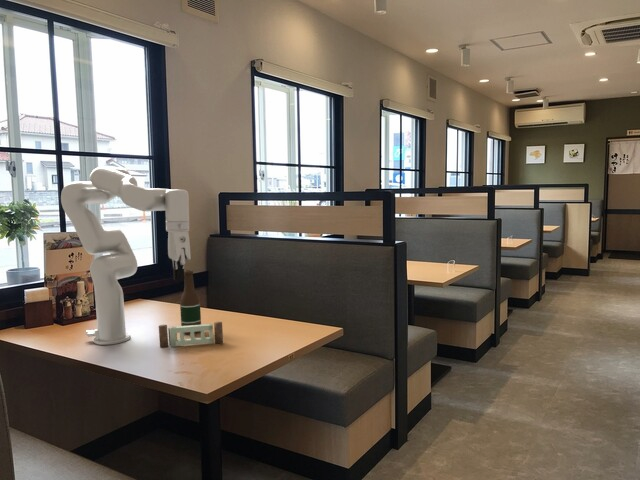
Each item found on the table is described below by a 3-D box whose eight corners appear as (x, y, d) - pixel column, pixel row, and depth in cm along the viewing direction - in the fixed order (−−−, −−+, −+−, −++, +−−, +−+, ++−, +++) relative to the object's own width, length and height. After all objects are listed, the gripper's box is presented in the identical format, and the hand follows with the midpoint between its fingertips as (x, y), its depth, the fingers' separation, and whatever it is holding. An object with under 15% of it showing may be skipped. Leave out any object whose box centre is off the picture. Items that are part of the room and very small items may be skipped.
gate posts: (159, 348, 174) (157, 326, 173) (161, 344, 178) (160, 323, 177) (222, 344, 176) (221, 323, 176) (223, 340, 180) (222, 320, 180)
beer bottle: (196, 335, 189) (193, 272, 186) (177, 334, 190) (174, 272, 188) (205, 329, 196) (202, 268, 194) (187, 329, 198) (183, 268, 195)
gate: (170, 347, 173) (169, 328, 173) (170, 345, 176) (169, 326, 175) (213, 343, 176) (212, 325, 175) (213, 341, 178) (212, 323, 178)
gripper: (196, 227, 164) (197, 283, 166) (181, 224, 176) (182, 275, 178) (173, 228, 160) (174, 285, 162) (159, 225, 172) (161, 277, 174)
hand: (178, 280), depth 170 cm, fingers closed
